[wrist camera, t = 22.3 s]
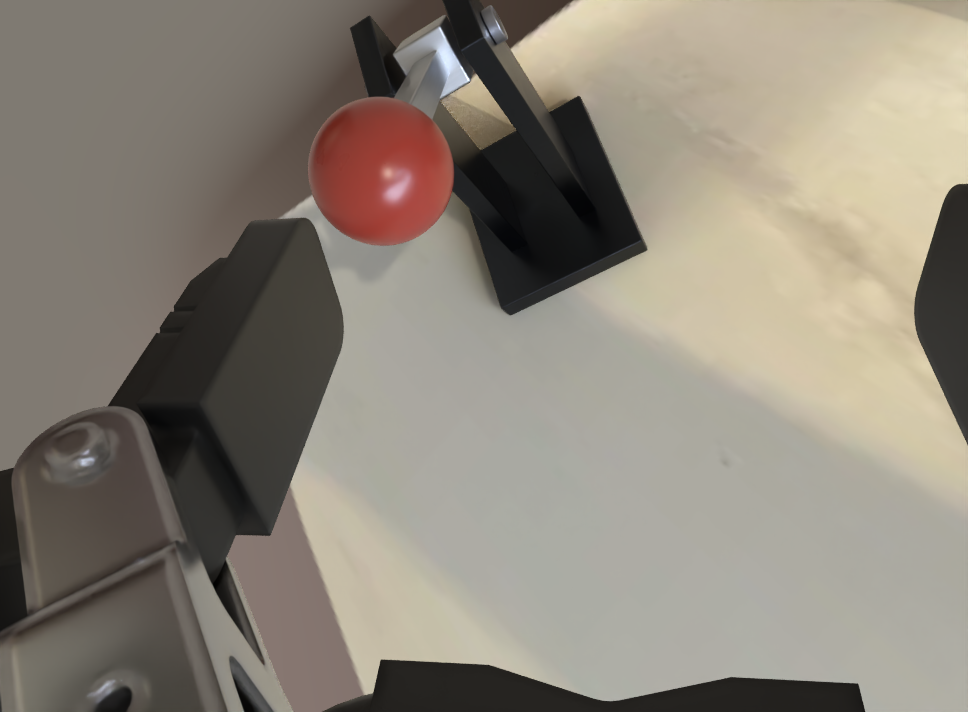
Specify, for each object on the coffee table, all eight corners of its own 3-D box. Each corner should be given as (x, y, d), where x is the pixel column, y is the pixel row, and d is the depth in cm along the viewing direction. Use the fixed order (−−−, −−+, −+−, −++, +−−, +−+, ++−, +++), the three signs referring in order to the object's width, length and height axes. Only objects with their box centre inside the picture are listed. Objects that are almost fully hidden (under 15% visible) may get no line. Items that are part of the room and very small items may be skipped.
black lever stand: (648, 250, 39) (542, 69, 26) (509, 316, 41) (351, 180, 28) (586, 107, 43) (469, -107, 30) (463, 174, 45) (308, 1, 33)
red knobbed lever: (477, 226, 18) (392, 87, 16) (351, 293, 19) (259, 168, 17) (496, 71, 32) (452, -10, 31) (424, 113, 33) (378, 37, 32)
